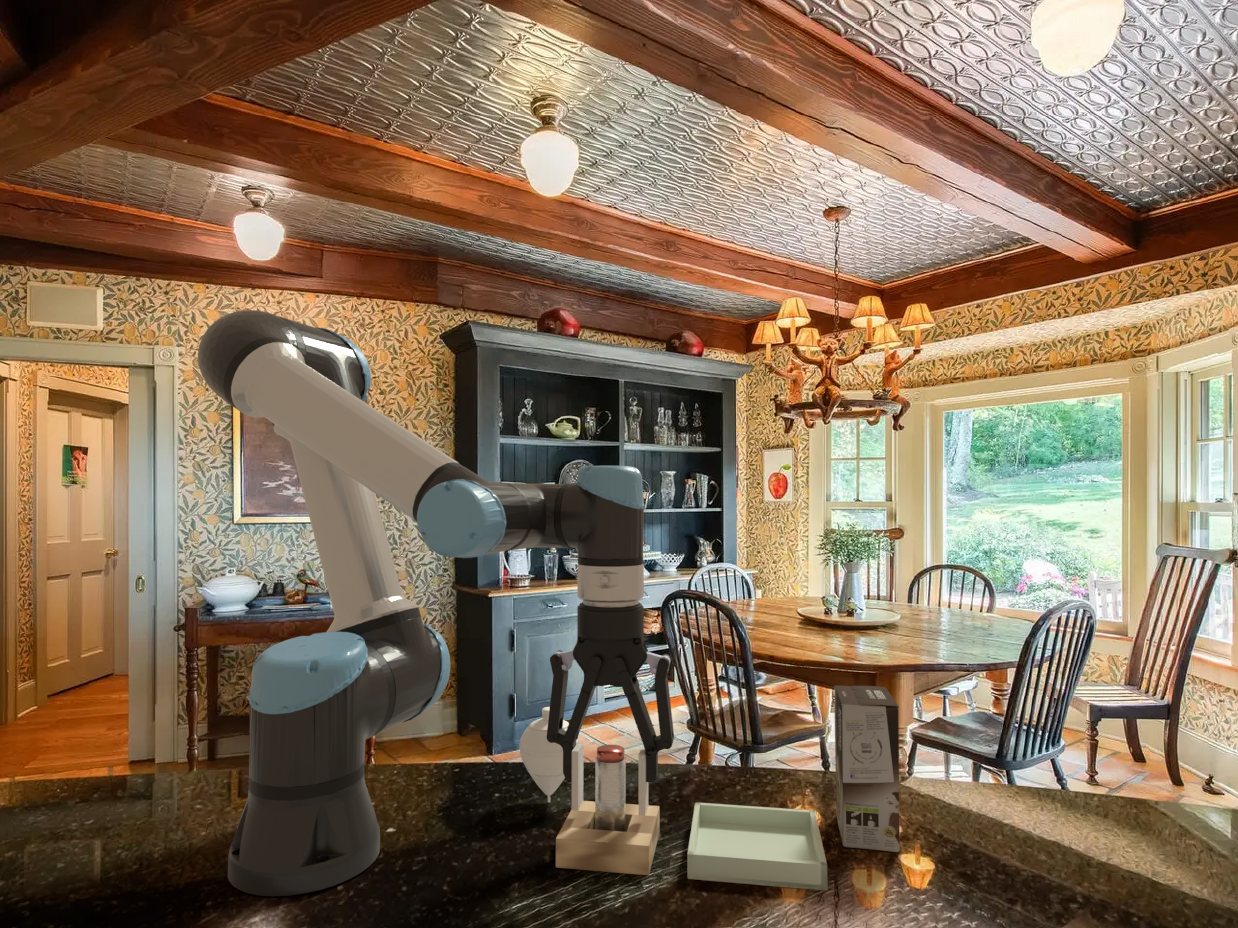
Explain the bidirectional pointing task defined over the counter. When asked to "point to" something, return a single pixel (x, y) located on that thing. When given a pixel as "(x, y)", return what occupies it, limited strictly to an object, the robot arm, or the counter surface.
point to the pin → (610, 788)
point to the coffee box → (867, 767)
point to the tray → (756, 846)
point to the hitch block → (608, 841)
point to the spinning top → (543, 755)
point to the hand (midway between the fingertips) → (610, 807)
